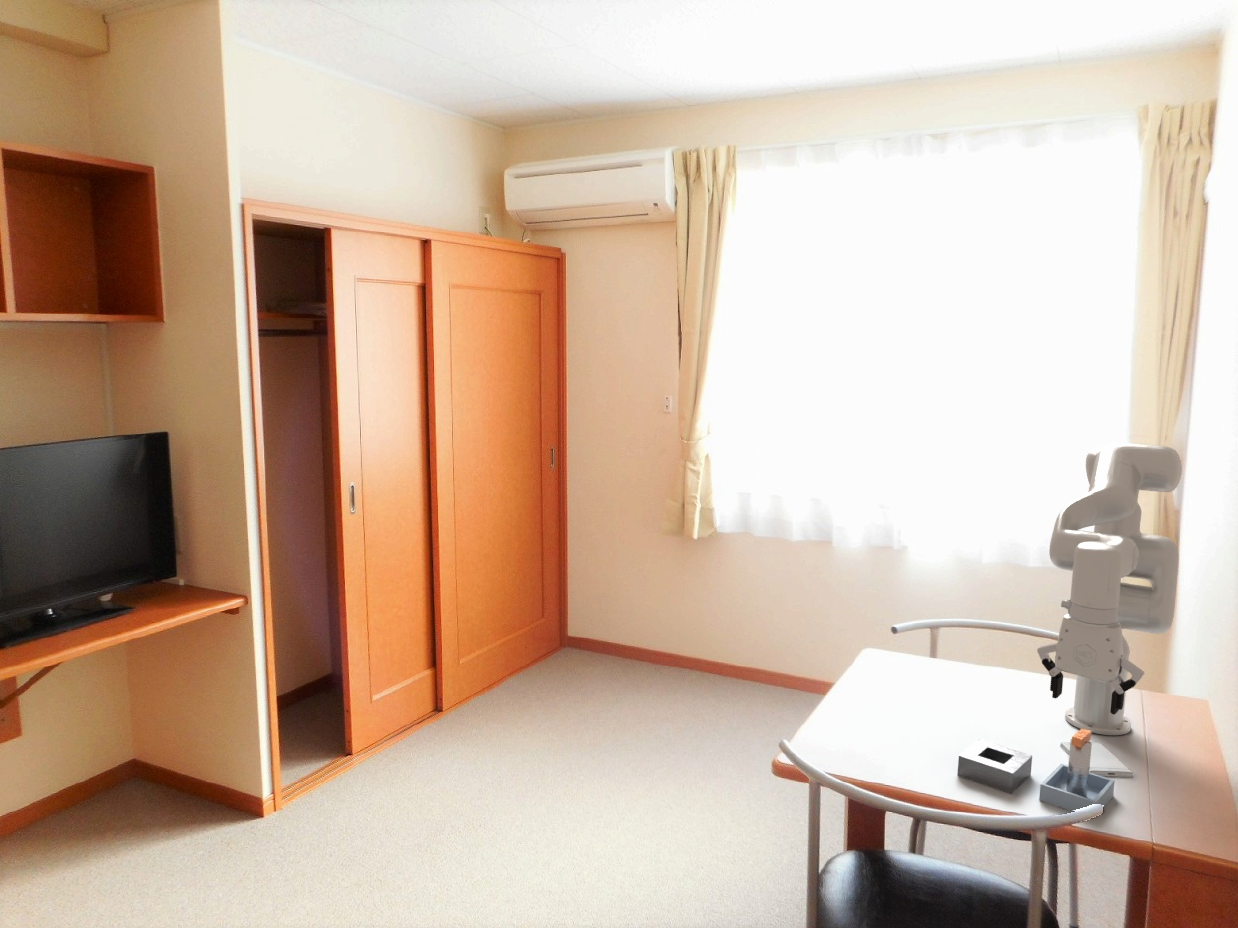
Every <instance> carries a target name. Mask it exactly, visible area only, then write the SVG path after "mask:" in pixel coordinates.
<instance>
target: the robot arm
mask: <svg viewBox="0 0 1238 928" xmlns="http://www.w3.org/2000/svg"><path fill="white" fill-rule="evenodd" d="M1085 470H1086V471H1085V473H1086V477H1087V480H1088V481H1087V482H1088V485H1089V487H1088V492H1087V493H1085V494H1083V495H1081V496H1080V497H1077V498H1076V499H1074V500H1072V501H1071V502H1070V503H1068V504H1067V505H1065V506H1064V508H1062V510H1061V511H1060V512H1059V514H1058V515H1057V517H1056V519H1055V523H1054V527H1053V530H1052V534H1051V536H1050V537H1051V538H1050V542H1049V550H1048V551H1049V554H1048V555H1049V558H1050V561H1051V563H1052V564H1053V565H1054V567H1056V568H1058V569H1061V570H1063V571H1065V570H1066V571H1072V574H1071V575H1072V576H1071V588H1070V599H1067V600H1064V599H1062V600H1061V603H1060V606H1061V608H1064V609H1066V610H1067V613H1066V614H1064V615H1063V618H1062V621H1061V624H1060V628H1059V633H1058V638H1057V642H1055V643H1051V644H1046V645H1041V646H1040V647H1038V648H1037V650H1036V651H1037V654H1038V656H1039V659H1040V660H1041V664H1042V665H1043V667H1044V668H1045V669H1046V670H1047V672H1048V676H1050V685H1049V686H1050V687H1049V691H1050V692H1052V695H1051V697H1052V699H1058V698H1059V697H1060V696H1061V695H1062V694H1063V686H1064V685H1063V684H1064V674H1063V672H1064V673H1067V674H1072V675H1074V676H1075V675H1076V681H1075V682H1076V684H1075V690H1074V691H1075V693H1074V704H1073V707H1071V708H1068V709H1067V710H1066V711H1065V715H1064V717H1065V720H1066V721H1067V722H1068V723H1069V724H1070V725H1072V726H1073V727H1076V728H1078V729H1080V730H1081V729H1082V728H1083V729H1086V730H1089V731H1091V734H1092V733H1093V734H1098V735H1104V736H1105V735H1106V736H1122V735H1126V734H1128V733H1129V732H1131V730H1132V724H1131V722H1130V720H1128V719H1127V718H1126V717H1125V715H1124V714H1125V704H1126V696H1127V695H1126V694H1127V691H1129V690H1130V689H1133V688H1134V687H1135V686H1136V685H1137V684H1138V683H1139V682H1140V680H1141V679H1142V678H1143V676H1144V675H1145V671H1144V670H1143V669H1141V668H1140V667H1138V666H1137V665H1136V664H1134V663H1133V662H1131V661H1130V655H1131V654H1130V653H1131V651H1130V650H1131V649H1130V647H1129V642H1127V640H1126V638H1125V636H1124V635H1123V630H1130V631H1135V632H1136V631H1137V632H1142V633H1150V634H1157V635H1158V634H1160V635H1161V634H1166V633H1167V632H1168V631H1170V629H1171V628H1172V625H1173V622H1174V615H1175V605H1176V595H1177V585H1178V574H1179V560H1180V559H1179V557H1180V556H1179V549H1178V548H1179V547H1178V545H1177V543H1176V542H1175V541H1174V540H1173V539H1172V538H1170V537H1167V536H1165V535H1157V534H1152V533H1151V534H1149V533H1142V532H1141V530H1140V529H1141V528H1140V527H1141V520H1142V509H1141V506H1140V504H1139V501H1138V500H1139V492H1140V491H1148V492H1158V493H1172V492H1173V491H1175V490H1176V489H1177V487H1178V486H1179V484H1180V481H1181V479H1182V477H1181V476H1182V471H1183V468H1182V461H1181V457H1180V455H1179V453H1178V451H1177V450H1176V449H1174V448H1172V447H1169V446H1164V445H1153V444H1143V443H1140V444H1139V443H1137V444H1136V443H1125V442H1124V443H1122V442H1121V443H1120V442H1119V443H1111V444H1107V445H1104V446H1103V447H1097V448H1093V449H1092V450H1089V452H1087V455H1086V458H1085ZM1092 526H1093V527H1094V528H1093V531H1086V530H1081V529H1084V528H1089V527H1092ZM1126 577H1127V578H1134V579H1139V580H1141V579H1142V580H1147V581H1148V582H1150V584H1151V586H1147V585H1140V584H1133V583H1132V584H1131V583H1128V582H1121V581H1122V578H1126ZM1122 629H1123V630H1122ZM1051 653H1054V655H1055V656H1054V661H1053V659H1052V658H1051V657H1050V654H1051ZM1129 674H1131V677H1130V678H1129V679H1128V675H1129Z"/></svg>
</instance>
